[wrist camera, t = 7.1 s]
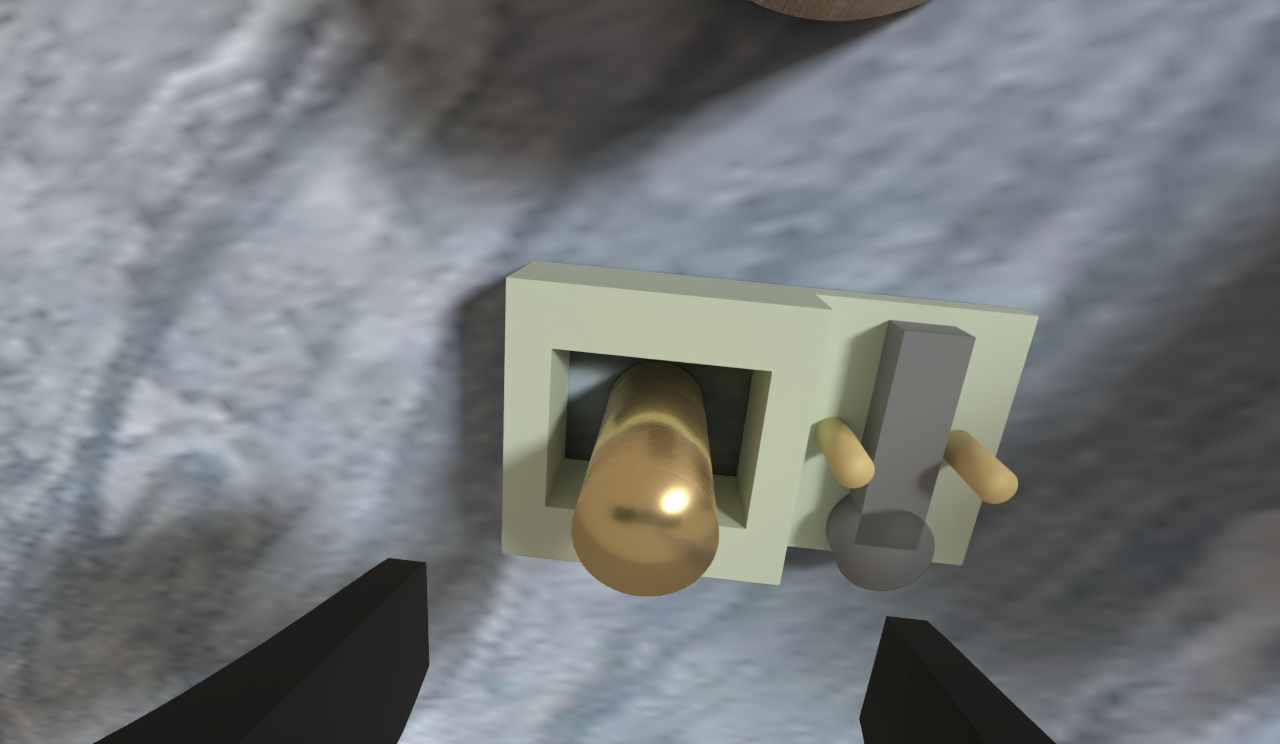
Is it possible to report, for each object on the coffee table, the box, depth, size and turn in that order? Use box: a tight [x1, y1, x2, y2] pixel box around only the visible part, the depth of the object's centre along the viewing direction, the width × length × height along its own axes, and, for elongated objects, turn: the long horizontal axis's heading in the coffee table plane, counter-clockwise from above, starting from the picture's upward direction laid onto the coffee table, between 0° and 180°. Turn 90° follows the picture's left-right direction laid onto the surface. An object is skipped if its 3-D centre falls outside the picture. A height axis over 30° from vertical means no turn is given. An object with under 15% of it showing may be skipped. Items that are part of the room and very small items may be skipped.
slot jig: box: [502, 261, 1039, 591], centre depth 17 cm, size 14×8×3 cm, turn 85°
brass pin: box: [571, 361, 719, 596], centre depth 15 cm, size 3×3×7 cm
